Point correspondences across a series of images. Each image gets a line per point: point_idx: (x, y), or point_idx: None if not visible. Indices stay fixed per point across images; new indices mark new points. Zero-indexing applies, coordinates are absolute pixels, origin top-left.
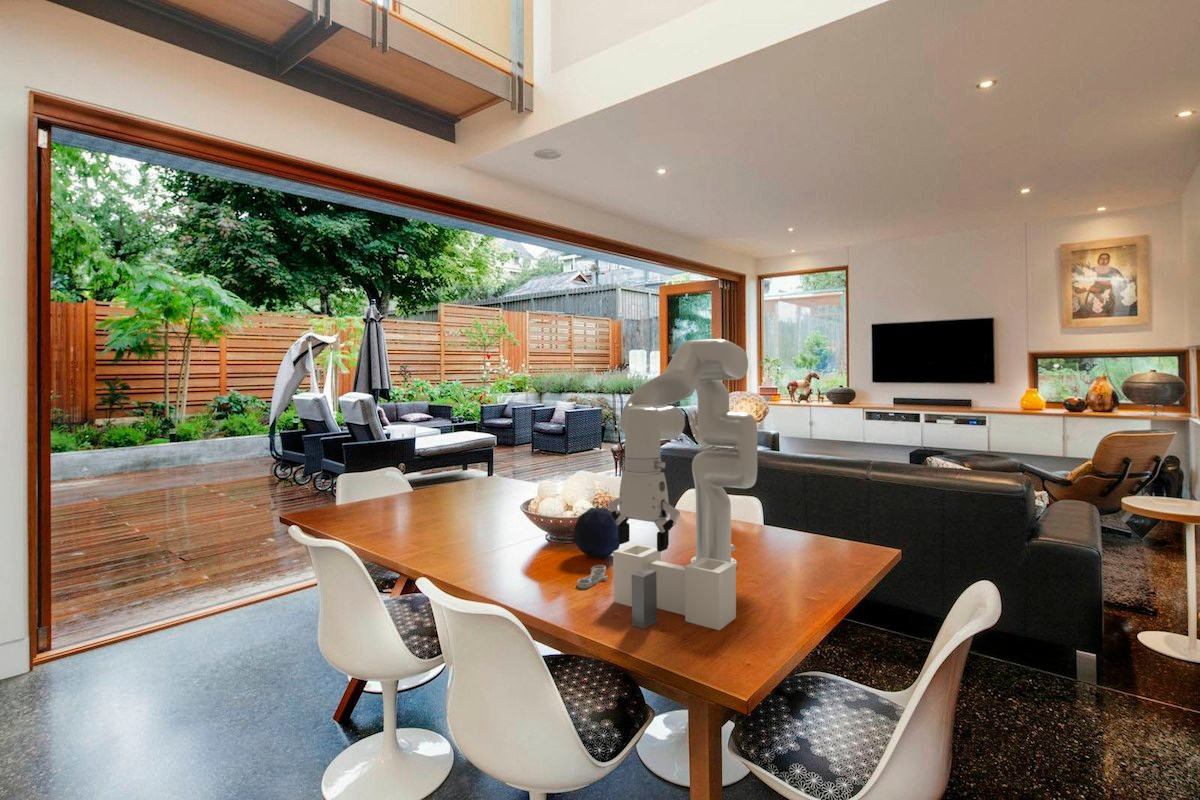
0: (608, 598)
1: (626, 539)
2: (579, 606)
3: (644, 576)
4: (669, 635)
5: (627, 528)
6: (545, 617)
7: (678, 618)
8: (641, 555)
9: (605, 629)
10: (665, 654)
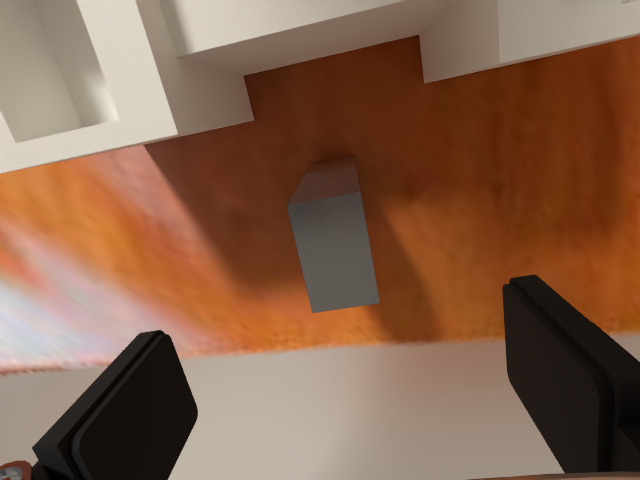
0: None
1: (170, 376)
2: (115, 246)
3: (376, 293)
4: (448, 203)
5: (116, 438)
6: None
7: (390, 81)
8: (147, 108)
9: (292, 297)
10: None
